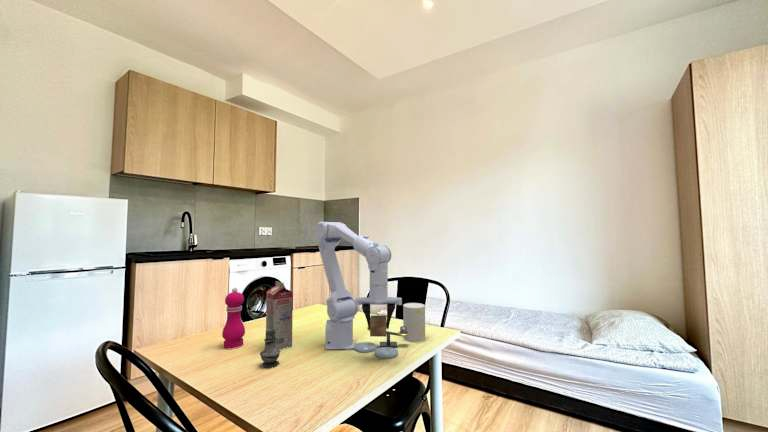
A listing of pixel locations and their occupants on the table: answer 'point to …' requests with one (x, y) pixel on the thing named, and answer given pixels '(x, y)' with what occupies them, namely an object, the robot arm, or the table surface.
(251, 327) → the table surface
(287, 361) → the table surface
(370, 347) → the dish left
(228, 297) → the pepper mill
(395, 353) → the dish right
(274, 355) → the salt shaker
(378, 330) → the block
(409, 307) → the cup
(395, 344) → the balance
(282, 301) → the juice carton
